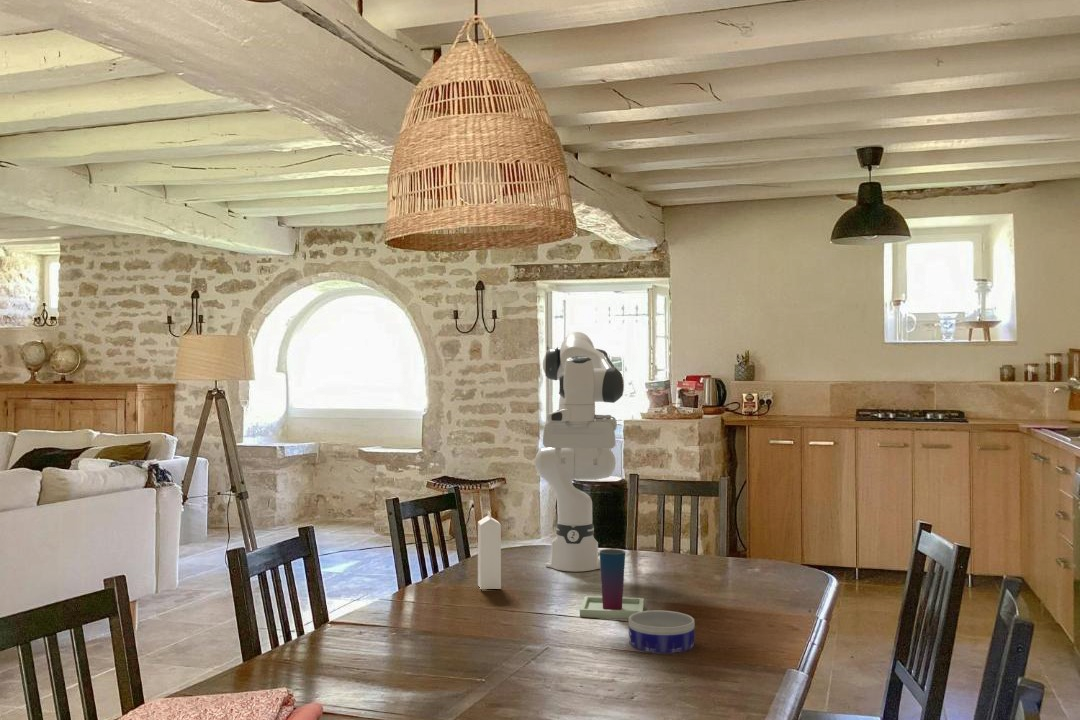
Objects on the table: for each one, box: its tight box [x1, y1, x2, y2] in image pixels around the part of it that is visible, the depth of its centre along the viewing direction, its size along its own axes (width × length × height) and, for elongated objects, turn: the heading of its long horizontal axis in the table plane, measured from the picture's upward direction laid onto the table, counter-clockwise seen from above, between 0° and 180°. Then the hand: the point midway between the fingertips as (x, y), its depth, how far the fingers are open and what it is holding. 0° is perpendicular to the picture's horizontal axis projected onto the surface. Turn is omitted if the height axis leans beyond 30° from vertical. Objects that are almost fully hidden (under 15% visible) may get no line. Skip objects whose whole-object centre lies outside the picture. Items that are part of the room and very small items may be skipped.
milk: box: [477, 510, 502, 590], centre depth 268 cm, size 6×6×22 cm
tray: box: [579, 595, 645, 619], centre depth 243 cm, size 14×16×2 cm
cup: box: [599, 548, 626, 610], centre depth 243 cm, size 7×7×15 cm
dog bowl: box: [627, 609, 696, 654], centre depth 215 cm, size 15×15×6 cm
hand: (579, 464), depth 257 cm, fingers open, 8 cm apart
